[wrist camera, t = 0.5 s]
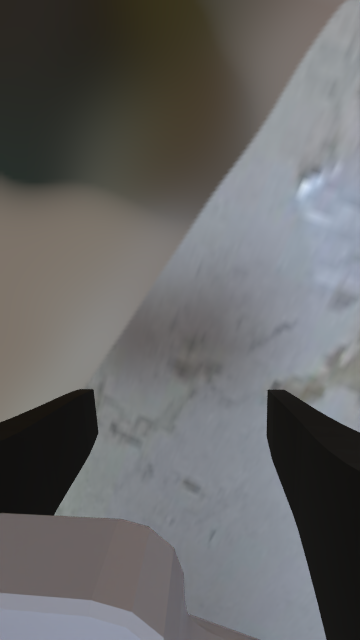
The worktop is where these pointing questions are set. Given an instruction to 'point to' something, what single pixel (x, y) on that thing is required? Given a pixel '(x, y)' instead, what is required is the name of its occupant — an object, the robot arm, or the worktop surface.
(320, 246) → the worktop surface
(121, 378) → the worktop surface
